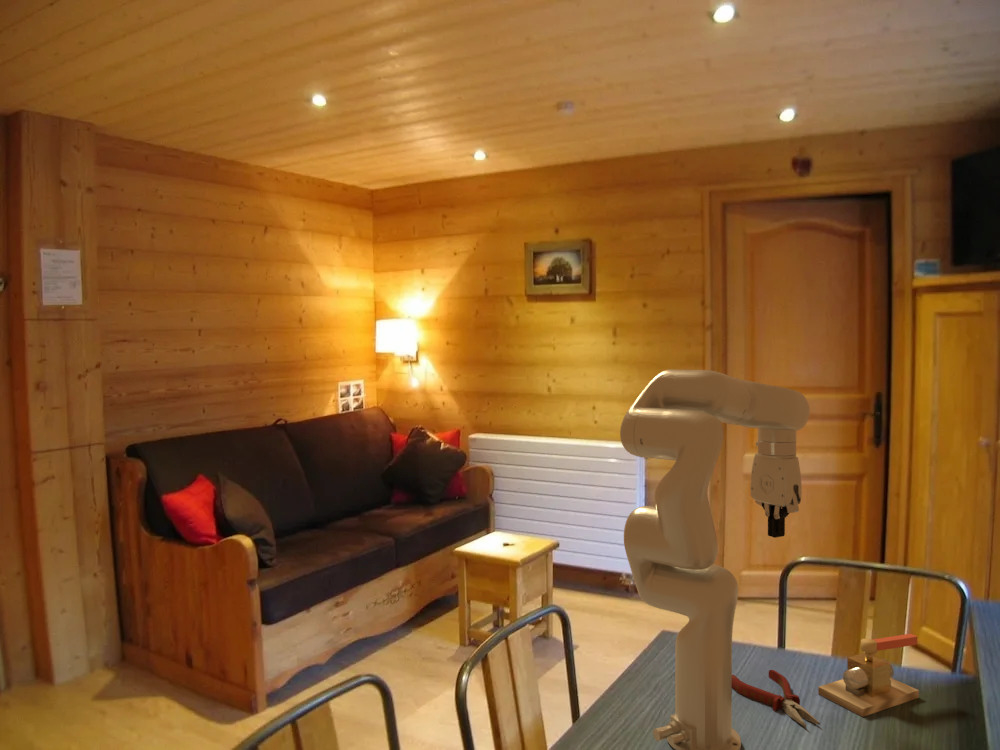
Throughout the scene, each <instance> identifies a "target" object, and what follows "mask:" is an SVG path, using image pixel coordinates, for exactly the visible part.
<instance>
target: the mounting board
mask: <svg viewBox="0 0 1000 750" xmlns="http://www.w3.org/2000/svg"><path fill="white" fill-rule="evenodd" d="M890 680H891V687H890V692H887V693H884V694H881V695H878V696H875V697H871V696H869V695H866V694H865V695H863V696H860V697H858V696H856V695H854V694H852V693H850V692H848V691H846V684H845V682H844V680H843V678H842V679H839V680H836V681H832V682H829V683H825V684H822V685H820V686H818V689H817V690H818V695H819V696H822V697H823V698H826V699H827V700H829V701H831V702H833V703H835V704H837V705H839V706H841V707H843V708H845V709H846V710H848V711H851V712H852V713H854V714H856V715H858V716H861V717H862V718H863V717H867V716H870V715H872V714H876V713H878V712H881V711H884V710H886V709H890V708H893V707H895V706H899V705H901V704H905V703H908V702H910V701H914V700H917V699H919V698H920V697H919V695H920V690H919V689H917V688H914V687H912V686H911V685H908V684H906V683H904V682H901V681H899V680H896V679H894V678H893V677H892V678H890Z"/></svg>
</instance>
